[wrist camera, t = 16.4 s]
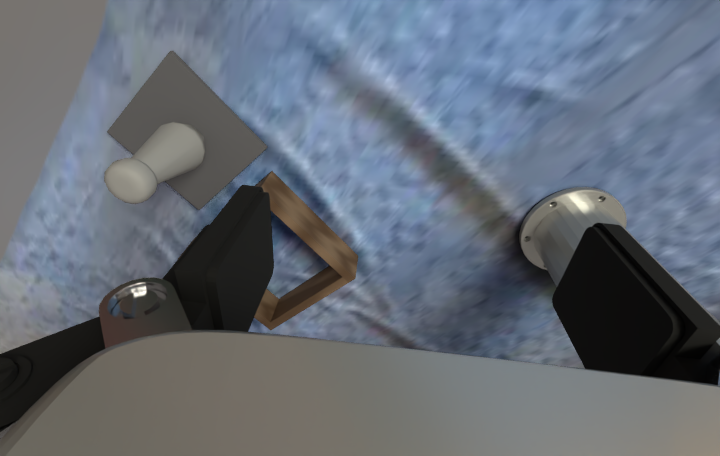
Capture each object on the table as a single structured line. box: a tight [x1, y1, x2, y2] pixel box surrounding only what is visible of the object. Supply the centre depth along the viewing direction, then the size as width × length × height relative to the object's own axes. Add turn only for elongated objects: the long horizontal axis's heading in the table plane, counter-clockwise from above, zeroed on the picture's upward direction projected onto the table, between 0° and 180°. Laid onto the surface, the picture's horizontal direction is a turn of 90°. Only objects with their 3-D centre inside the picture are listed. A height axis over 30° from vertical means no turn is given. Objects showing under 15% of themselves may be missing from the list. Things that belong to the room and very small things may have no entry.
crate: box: [178, 171, 358, 330], centre depth 51 cm, size 17×17×5 cm
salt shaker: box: [104, 122, 205, 204], centre depth 39 cm, size 6×6×13 cm
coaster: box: [107, 51, 267, 210], centre depth 45 cm, size 14×14×1 cm
